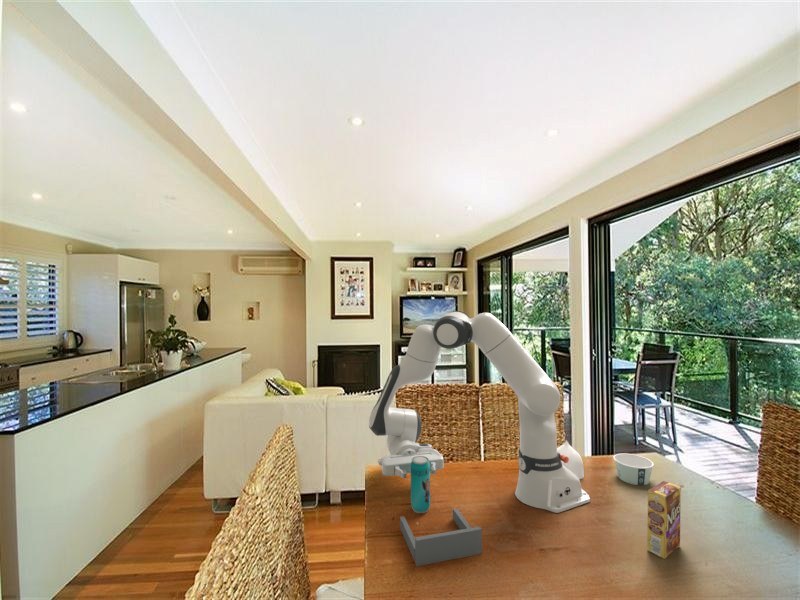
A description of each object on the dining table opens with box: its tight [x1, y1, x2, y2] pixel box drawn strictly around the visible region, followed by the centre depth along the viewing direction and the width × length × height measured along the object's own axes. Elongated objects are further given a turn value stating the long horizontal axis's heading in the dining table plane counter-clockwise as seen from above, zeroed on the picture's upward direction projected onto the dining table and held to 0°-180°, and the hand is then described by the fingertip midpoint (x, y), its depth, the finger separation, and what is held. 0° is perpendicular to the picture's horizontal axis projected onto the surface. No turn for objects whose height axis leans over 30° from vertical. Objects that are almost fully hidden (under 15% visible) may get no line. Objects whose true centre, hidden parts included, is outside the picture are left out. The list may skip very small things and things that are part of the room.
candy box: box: [646, 480, 682, 560], centre depth 94 cm, size 9×4×15 cm, turn 123°
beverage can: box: [410, 456, 431, 514], centre depth 113 cm, size 6×6×15 cm
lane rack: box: [399, 507, 483, 567], centre depth 98 cm, size 17×16×6 cm
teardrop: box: [557, 439, 585, 480], centre depth 136 cm, size 11×11×12 cm
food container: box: [612, 453, 655, 486], centre depth 131 cm, size 12×12×6 cm
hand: (419, 473), depth 114 cm, fingers open, 8 cm apart
